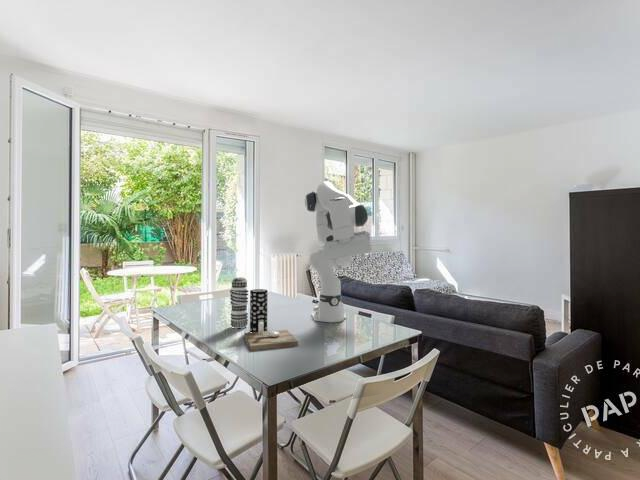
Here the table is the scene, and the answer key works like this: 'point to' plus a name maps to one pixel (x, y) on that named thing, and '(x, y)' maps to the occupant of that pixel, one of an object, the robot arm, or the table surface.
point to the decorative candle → (239, 303)
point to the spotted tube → (258, 309)
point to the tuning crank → (260, 333)
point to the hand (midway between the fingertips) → (351, 267)
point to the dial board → (270, 340)
